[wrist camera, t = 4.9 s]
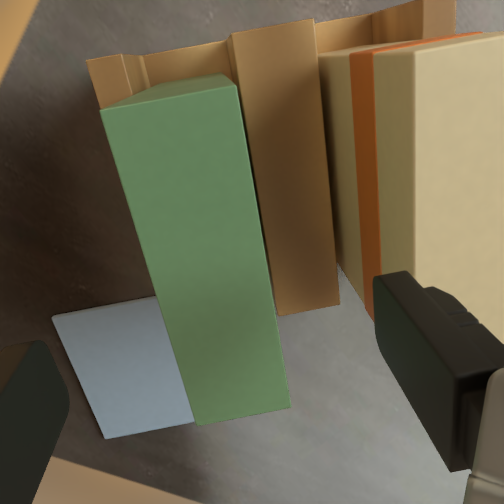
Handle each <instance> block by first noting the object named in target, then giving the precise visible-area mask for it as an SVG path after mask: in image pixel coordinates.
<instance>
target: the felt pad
mask: <svg viewBox="0 0 504 504" xmlns="http://www.w3.org/2000/svg"><path fill="white" fill-rule="evenodd" d="M52 321H53V323H54V325H55V328H56V330H57V332H58V334H59V337H60V339H61V341H62V343H63V345H64V348H65V350H66V352H67V354H68V357H69V359H70V361H71V363H72V366H73V368H74V370H75V372H76V375H77V377H78V379H79V381H80V384H81V386H82V388H83V390H84V393H85V395H86V397H87V399H88V402H89V404H90V406H91V408H92V411H93V413H94V415H95V417H96V420H97V422H98V424H99V426H100V429H101V431H102V433H103V435H104V438H105V439H110V438H115V437H120V436H125V435H130V434H135V433H140V432H145V431H150V430H155V429H160V428H165V427H171V426H176V425H181V424H186V423H191V422H195V420H194V417H193V414H192V410H191V407H190V404H189V401H188V397H187V394H186V391H185V388H184V385H183V381H182V378H181V375H180V372H179V368H178V365H177V362H176V359H175V355H174V352H173V349H172V346H171V343H170V339H169V336H168V333H167V330H166V326H165V323H164V320H163V317H162V313H161V310H160V307H159V304H158V300H157V297H156V296H152V297H147V298H142V299H136V300H131V301H126V302H121V303H116V304H111V305H105V306H100V307H95V308H90V309H85V310H80V311H74V312H69V313H64V314H59V315H54V316H53V317H52Z"/></svg>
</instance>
